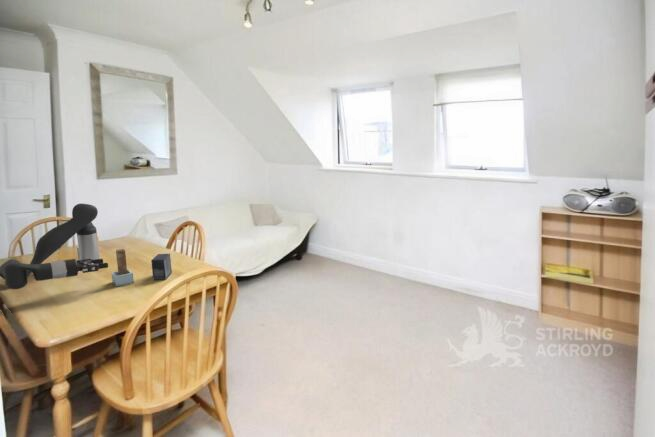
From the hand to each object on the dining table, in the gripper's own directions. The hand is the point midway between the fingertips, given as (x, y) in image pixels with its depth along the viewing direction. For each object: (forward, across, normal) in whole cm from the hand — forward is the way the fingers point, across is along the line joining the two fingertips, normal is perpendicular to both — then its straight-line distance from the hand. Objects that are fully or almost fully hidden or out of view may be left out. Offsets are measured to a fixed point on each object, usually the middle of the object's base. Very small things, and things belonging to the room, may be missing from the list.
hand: (105, 262), depth 184 cm
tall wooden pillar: (+7, 0, -10) cm, 12 cm away
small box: (+24, +2, -11) cm, 27 cm away
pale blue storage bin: (+7, -1, -11) cm, 13 cm away
